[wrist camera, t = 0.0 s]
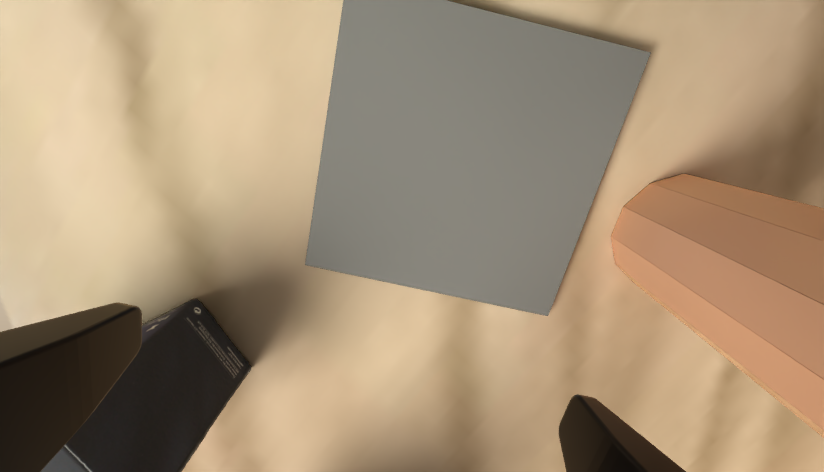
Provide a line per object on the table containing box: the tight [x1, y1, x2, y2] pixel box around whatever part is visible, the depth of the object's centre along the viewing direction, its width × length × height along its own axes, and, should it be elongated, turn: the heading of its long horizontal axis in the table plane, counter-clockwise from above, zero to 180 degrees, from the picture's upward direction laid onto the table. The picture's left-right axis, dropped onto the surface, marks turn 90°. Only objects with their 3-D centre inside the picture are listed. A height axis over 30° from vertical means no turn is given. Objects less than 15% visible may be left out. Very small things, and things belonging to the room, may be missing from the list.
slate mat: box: [305, 0, 651, 316], centre depth 21 cm, size 15×15×1 cm
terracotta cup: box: [611, 174, 824, 438], centre depth 16 cm, size 7×7×13 cm
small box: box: [41, 299, 251, 472], centre depth 21 cm, size 11×6×10 cm, turn 118°
